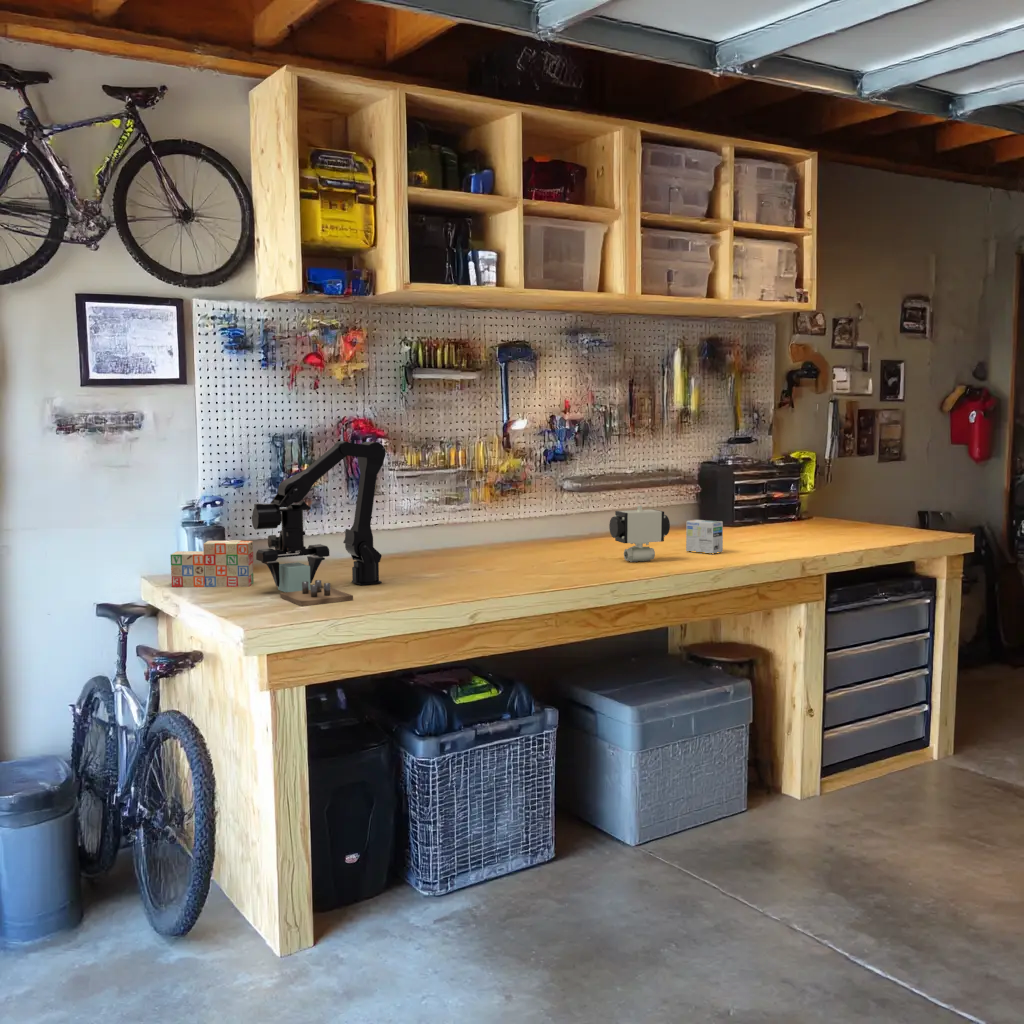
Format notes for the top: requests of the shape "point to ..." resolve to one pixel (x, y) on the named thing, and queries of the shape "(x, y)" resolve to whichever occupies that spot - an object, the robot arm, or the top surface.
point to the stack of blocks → (214, 565)
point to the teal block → (293, 576)
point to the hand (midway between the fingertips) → (294, 584)
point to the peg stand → (316, 595)
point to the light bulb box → (704, 536)
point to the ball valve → (639, 531)
